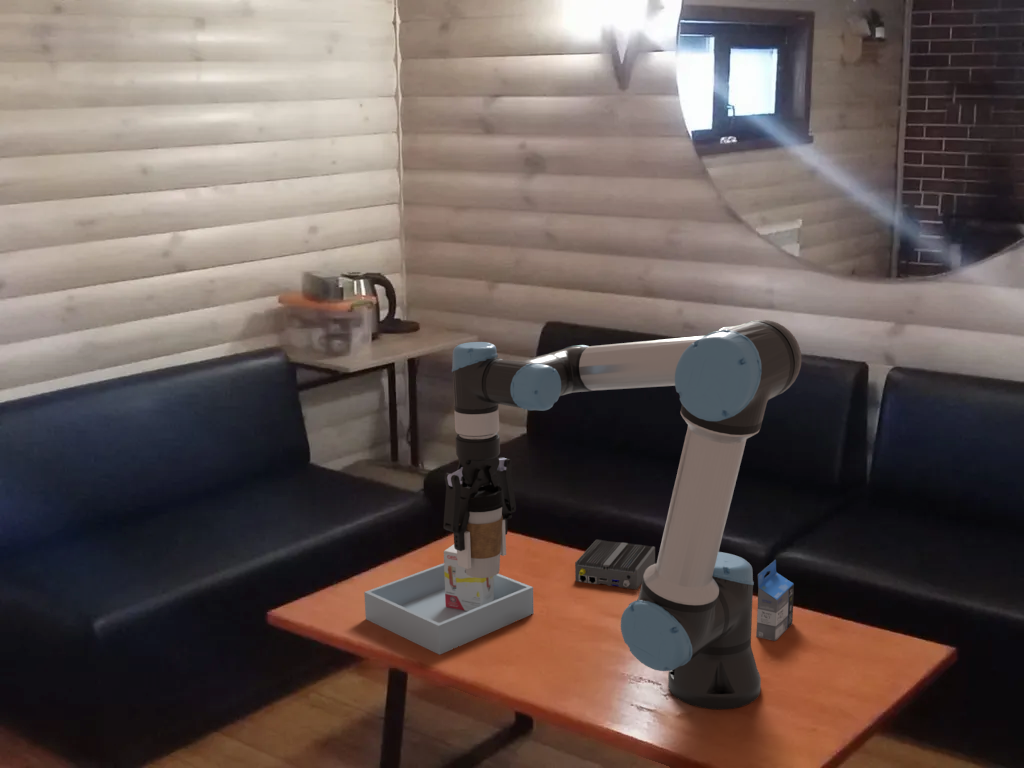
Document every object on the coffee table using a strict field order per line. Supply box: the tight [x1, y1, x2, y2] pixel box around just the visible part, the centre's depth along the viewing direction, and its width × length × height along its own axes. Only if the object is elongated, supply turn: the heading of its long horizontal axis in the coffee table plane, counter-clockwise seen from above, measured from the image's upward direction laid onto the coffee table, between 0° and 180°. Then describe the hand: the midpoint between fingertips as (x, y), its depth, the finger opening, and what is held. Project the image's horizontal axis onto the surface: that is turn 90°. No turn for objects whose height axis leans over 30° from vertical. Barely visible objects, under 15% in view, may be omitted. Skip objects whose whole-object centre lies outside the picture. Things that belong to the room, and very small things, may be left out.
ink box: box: [443, 543, 494, 611], centre depth 229 cm, size 9×5×12 cm, turn 63°
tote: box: [363, 562, 535, 656], centre depth 226 cm, size 22×24×6 cm
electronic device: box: [574, 539, 656, 591], centre depth 245 cm, size 13×15×5 cm
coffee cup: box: [459, 486, 504, 578], centre depth 206 cm, size 8×8×15 cm
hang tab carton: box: [755, 559, 795, 642], centre depth 217 cm, size 9×4×12 cm, turn 147°
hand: (482, 559), depth 207 cm, fingers closed on coffee cup, 8 cm apart
